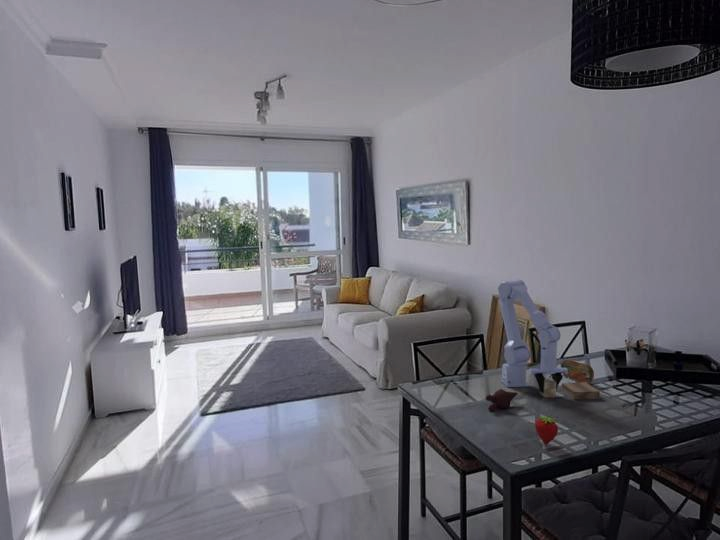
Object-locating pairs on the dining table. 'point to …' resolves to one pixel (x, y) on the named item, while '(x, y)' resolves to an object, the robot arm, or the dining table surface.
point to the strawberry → (546, 429)
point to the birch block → (549, 388)
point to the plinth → (580, 391)
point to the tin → (578, 371)
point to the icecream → (500, 399)
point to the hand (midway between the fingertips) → (547, 391)
